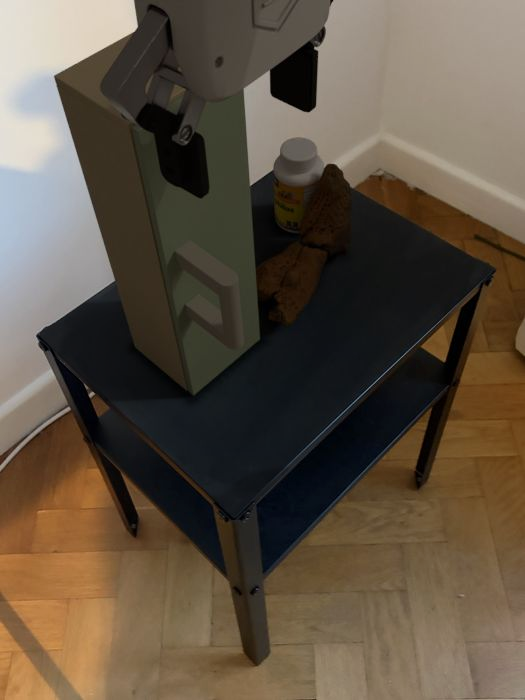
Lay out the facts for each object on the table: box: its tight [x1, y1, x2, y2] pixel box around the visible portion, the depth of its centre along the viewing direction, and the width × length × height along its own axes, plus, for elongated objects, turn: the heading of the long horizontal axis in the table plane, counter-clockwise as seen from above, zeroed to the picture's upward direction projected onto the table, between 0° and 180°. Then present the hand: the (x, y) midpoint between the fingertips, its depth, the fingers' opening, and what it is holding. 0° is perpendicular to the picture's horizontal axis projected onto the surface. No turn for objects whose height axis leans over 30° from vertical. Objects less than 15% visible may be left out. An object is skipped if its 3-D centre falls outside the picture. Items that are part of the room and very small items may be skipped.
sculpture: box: [255, 163, 353, 327], centre depth 76 cm, size 8×10×15 cm
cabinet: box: [53, 31, 189, 392], centre depth 63 cm, size 8×9×31 cm
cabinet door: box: [132, 88, 261, 396], centre depth 59 cm, size 6×9×31 cm
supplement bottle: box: [272, 136, 325, 234], centre depth 81 cm, size 6×6×10 cm
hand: (242, 142), depth 43 cm, fingers open, 9 cm apart
